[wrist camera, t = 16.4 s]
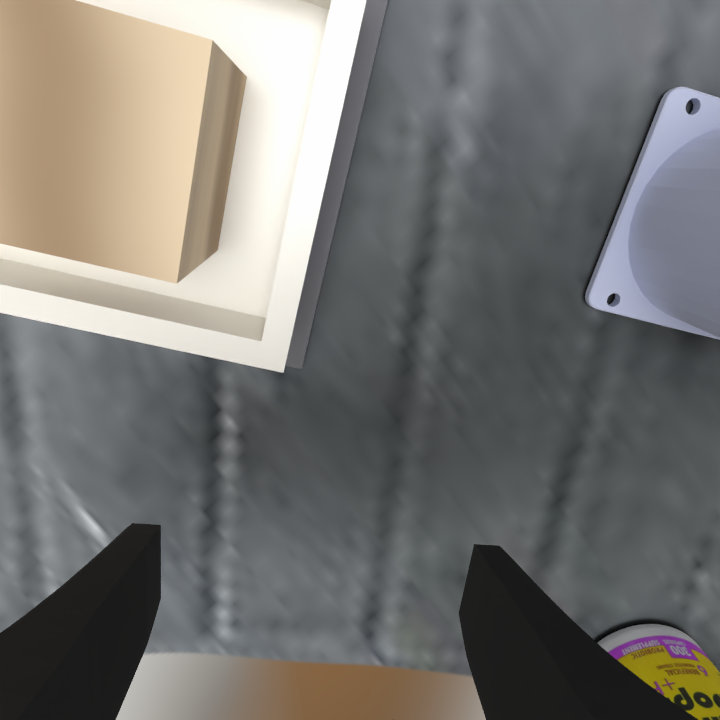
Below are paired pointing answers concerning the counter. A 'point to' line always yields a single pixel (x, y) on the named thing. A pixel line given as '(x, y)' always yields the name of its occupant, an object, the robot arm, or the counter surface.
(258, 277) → the white square tray
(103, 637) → the robot arm
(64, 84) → the wooden block
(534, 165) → the counter surface
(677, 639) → the supplement bottle
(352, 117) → the flat gray panel
